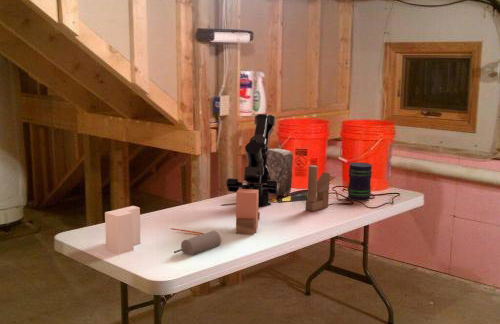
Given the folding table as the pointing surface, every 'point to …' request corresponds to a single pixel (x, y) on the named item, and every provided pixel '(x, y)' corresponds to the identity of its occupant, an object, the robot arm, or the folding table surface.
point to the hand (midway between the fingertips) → (249, 206)
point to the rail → (246, 225)
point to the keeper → (247, 204)
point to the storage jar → (359, 181)
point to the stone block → (280, 169)
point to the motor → (199, 242)
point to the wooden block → (317, 189)
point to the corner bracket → (122, 229)
